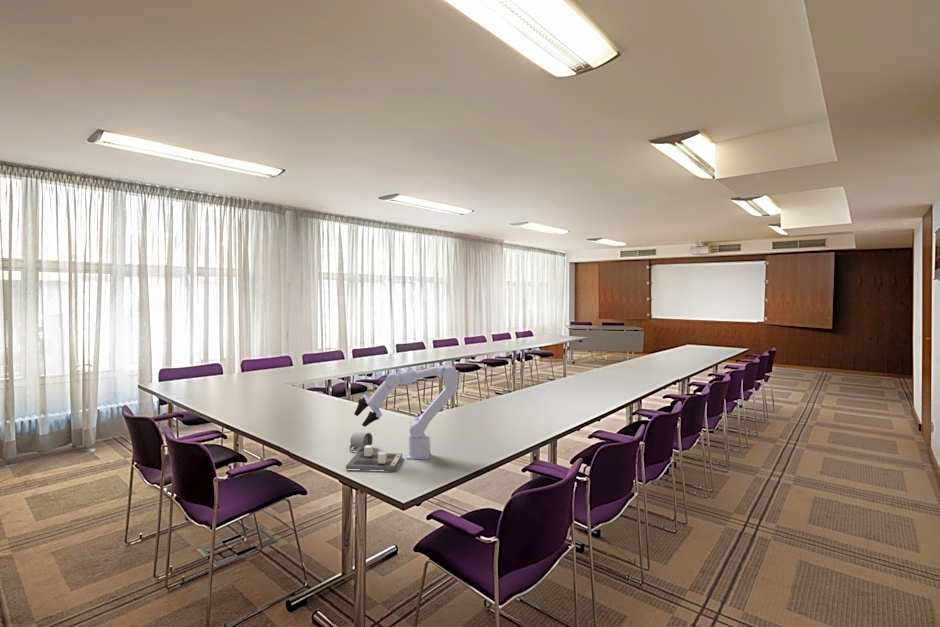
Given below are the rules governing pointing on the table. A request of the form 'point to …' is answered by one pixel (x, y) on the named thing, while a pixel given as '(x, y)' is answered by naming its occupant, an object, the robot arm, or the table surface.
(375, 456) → the switch panel
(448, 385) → the robot arm
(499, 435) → the table surface
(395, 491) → the table surface
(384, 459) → the switch tab
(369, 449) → the switch tab
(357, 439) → the ceramic mug
